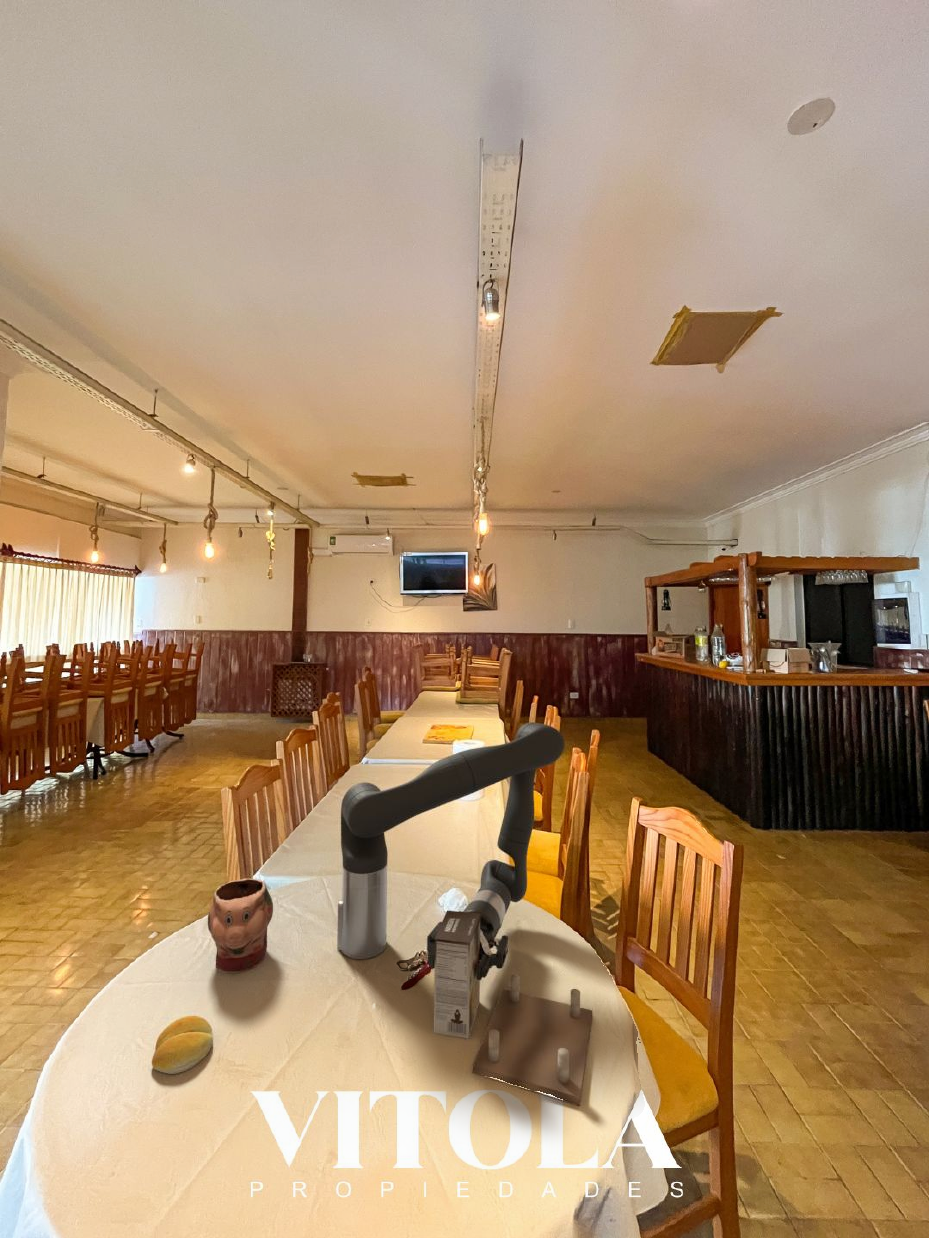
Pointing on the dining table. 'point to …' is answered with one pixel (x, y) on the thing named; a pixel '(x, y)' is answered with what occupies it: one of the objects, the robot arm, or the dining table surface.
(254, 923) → the decorative planter
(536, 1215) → the dining table surface
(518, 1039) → the standoff plate
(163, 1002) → the dining table surface
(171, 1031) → the bread roll
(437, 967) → the coffee box
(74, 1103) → the dining table surface
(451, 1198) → the dining table surface
